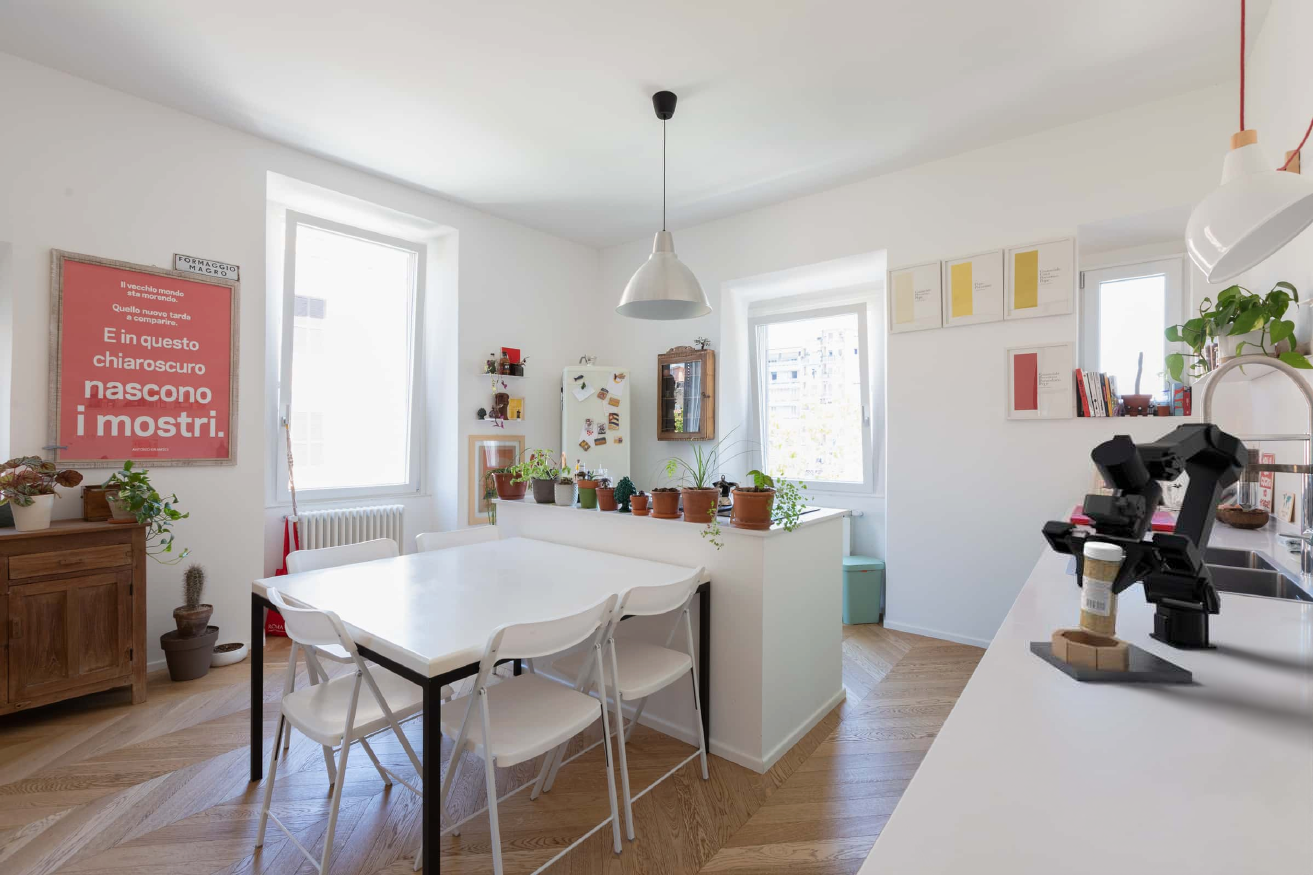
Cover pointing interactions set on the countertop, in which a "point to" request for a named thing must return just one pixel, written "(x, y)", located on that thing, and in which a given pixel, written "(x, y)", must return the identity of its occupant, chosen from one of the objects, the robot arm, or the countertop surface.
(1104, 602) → the sprinkles bottle
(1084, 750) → the countertop surface
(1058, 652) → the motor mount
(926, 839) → the countertop surface
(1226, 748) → the countertop surface
